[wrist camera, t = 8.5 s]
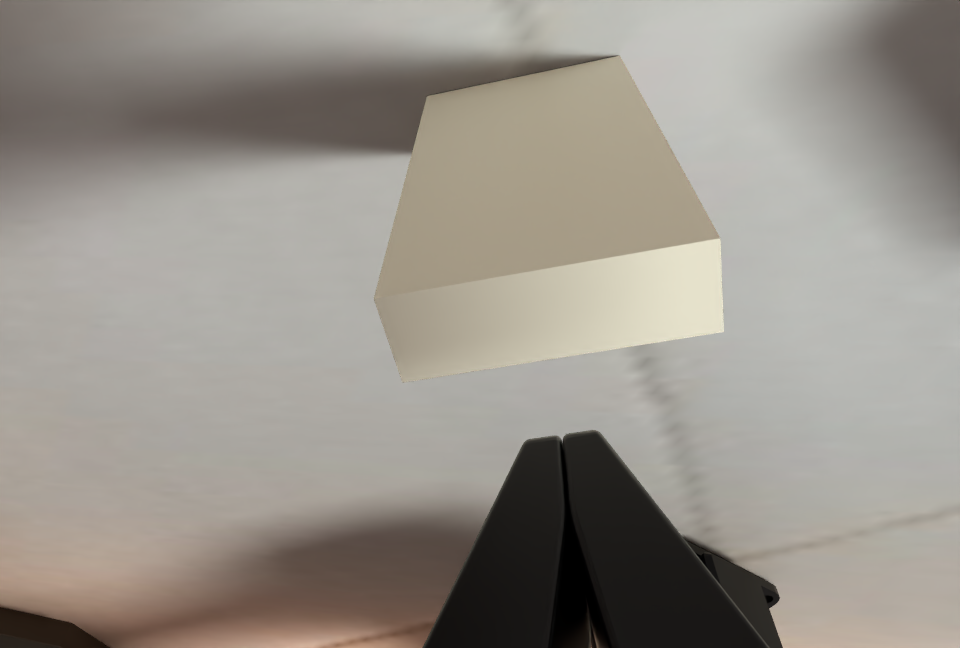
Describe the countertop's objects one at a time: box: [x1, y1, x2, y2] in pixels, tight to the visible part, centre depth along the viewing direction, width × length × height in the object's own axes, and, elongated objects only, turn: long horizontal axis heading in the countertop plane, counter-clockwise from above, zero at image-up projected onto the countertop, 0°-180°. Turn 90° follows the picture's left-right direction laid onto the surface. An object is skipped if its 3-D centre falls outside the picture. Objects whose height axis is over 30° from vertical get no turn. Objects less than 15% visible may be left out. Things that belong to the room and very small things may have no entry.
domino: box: [374, 56, 724, 383], centre depth 15 cm, size 2×5×10 cm, turn 102°
